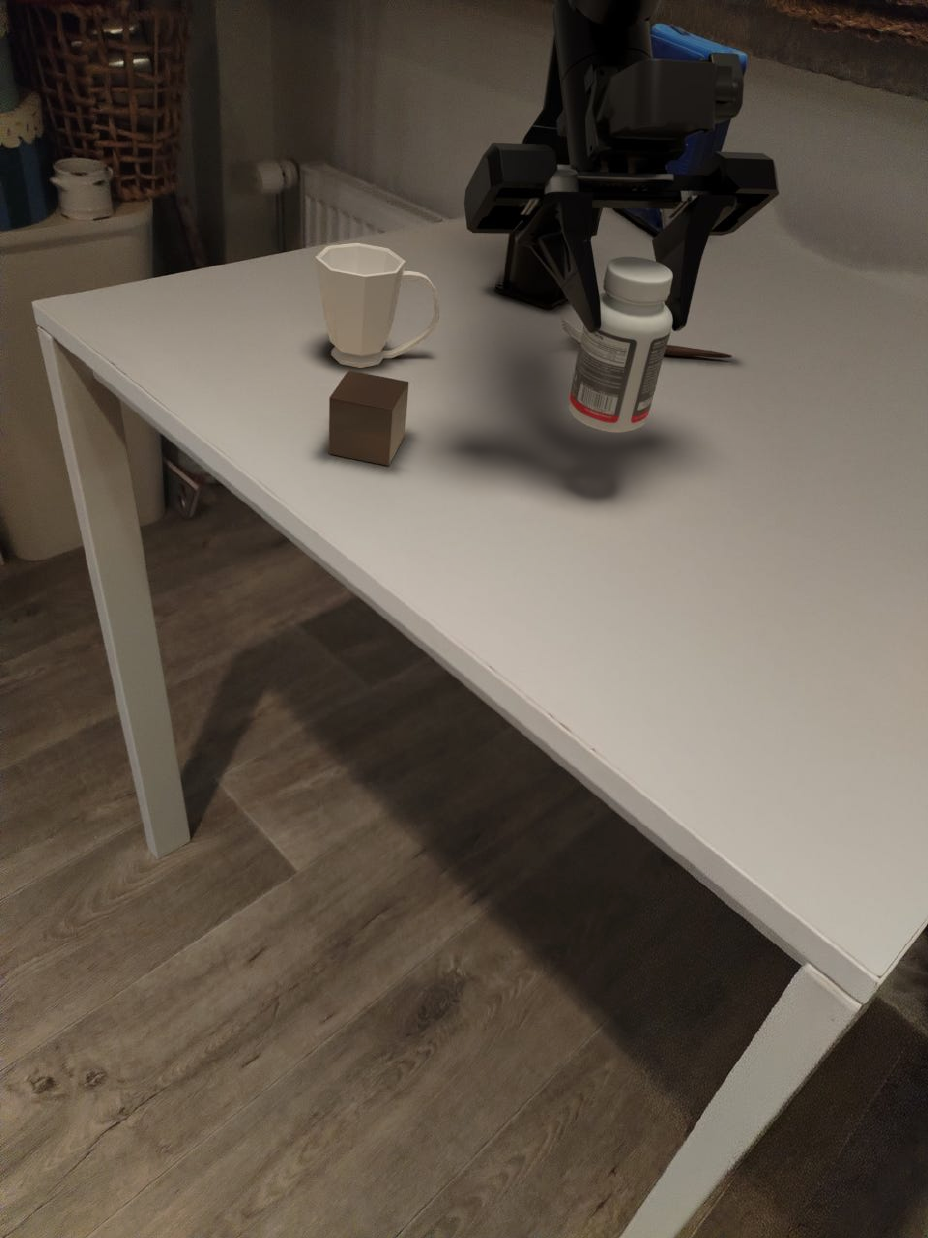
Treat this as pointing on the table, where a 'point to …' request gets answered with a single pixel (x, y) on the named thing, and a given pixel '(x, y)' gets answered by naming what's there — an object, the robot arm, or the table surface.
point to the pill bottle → (623, 347)
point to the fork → (669, 350)
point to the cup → (364, 301)
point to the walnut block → (367, 417)
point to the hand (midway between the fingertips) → (637, 329)
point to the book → (699, 146)
